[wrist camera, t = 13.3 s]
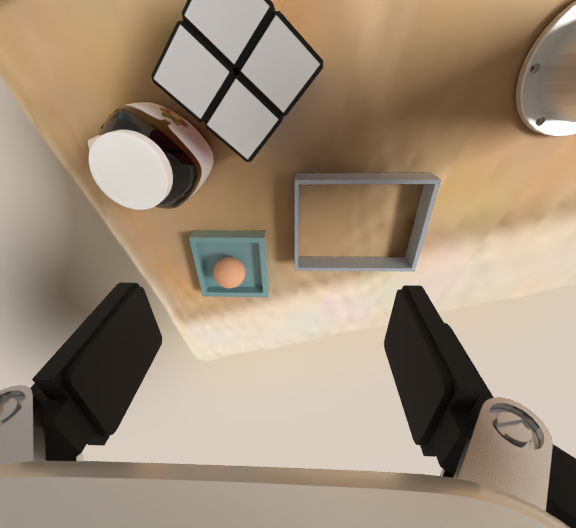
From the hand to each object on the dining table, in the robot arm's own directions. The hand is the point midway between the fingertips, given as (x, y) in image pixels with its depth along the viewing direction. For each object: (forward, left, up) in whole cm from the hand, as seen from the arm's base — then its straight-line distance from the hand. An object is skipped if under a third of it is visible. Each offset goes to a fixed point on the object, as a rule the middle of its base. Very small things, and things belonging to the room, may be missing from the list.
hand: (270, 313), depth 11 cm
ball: (+9, +16, -28) cm, 33 cm away
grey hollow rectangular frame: (-9, +9, -28) cm, 31 cm away
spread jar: (+16, 0, -29) cm, 33 cm away
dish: (+9, +16, -28) cm, 34 cm away
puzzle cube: (+4, -8, -29) cm, 30 cm away
